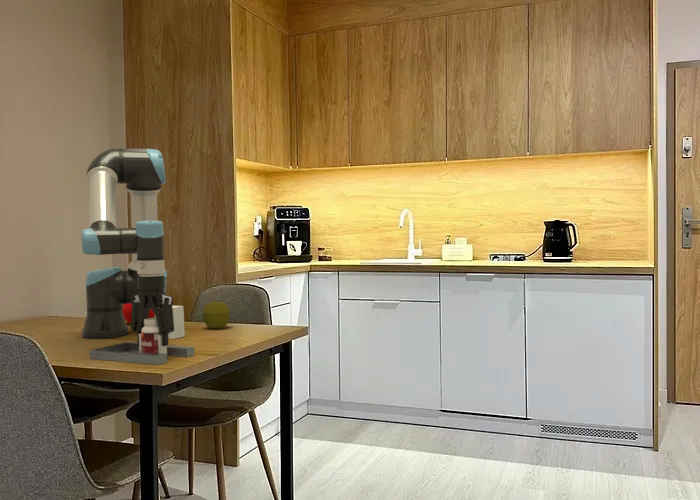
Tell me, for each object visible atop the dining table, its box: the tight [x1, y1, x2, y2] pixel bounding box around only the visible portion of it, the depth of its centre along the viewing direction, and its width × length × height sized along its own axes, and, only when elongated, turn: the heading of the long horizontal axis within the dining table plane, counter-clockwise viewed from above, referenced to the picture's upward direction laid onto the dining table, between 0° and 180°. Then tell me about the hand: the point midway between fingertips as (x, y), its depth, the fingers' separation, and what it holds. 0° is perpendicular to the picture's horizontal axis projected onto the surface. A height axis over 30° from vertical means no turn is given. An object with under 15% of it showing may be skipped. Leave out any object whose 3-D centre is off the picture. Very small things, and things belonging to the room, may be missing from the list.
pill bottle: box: [141, 317, 160, 353], centre depth 194 cm, size 6×6×11 cm
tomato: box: [122, 303, 155, 324], centre depth 266 cm, size 12×13×11 cm
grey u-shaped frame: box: [89, 341, 195, 366], centre depth 196 cm, size 25×15×2 cm, turn 65°
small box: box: [154, 305, 185, 340], centre depth 231 cm, size 8×6×10 cm
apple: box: [202, 301, 231, 330], centre depth 249 cm, size 10×10×11 cm
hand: (153, 356), depth 195 cm, fingers closed on pill bottle, 6 cm apart
